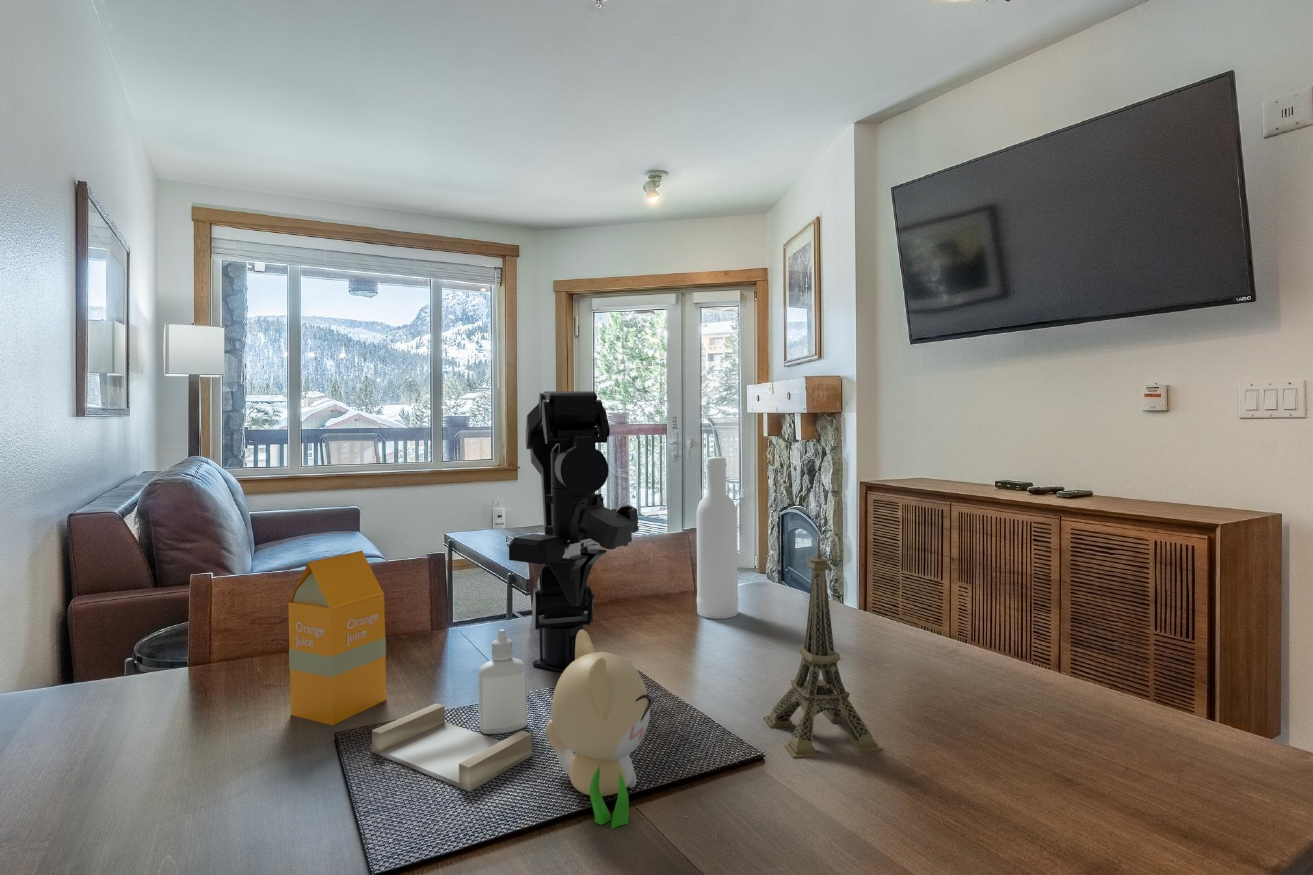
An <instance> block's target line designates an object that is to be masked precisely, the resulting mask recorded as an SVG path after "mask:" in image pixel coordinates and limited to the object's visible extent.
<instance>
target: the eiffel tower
mask: <svg viewBox="0 0 1313 875" xmlns="http://www.w3.org/2000/svg"><path fill="white" fill-rule="evenodd" d="M817 525H818V527H817V529H818V533H817V534H818V536H817V549H816V550H817V555H816V557H809V558H808V559H809V562H808V563H807V564H806V566H807V567H809V568H810V569H811V570H812V572H811V583H810V595H809V602H808V612H807V622H806V623H807V624H806V631H805V641H804V644H800V646H799V649H798V652H799V653H800V655H801V656H802V657H801V662H800V665H799V668H798V672H797V673H796V676H795V678H794V679H790V682H791V685H792V687H791V688H789V690H787V692H786V693H785V695H783V696H782V697H781V699H780V700H779V701H778V702H777V703H776V705H775V706H774V707H773V708H772V710H771V712H770V714H768V715H766V716H763V717H762V719H763V721H764V722H765V723H766V724H767V726H768V727H769V728H770V729H773V728H784V727H792V726H793V721H792V720H791V718H792V717H793V715H794V714H795V712H796V711H797V710H798V709H799V707H800V708H801V710H802V712H803V715H802V717H801V718H800V720H799V723H798V724H797V725H796V728H795V730H794V731H793V733H792V734H791V737H790V738H789V739H790V741H788V743H787V744H784V749H785V750H786V751H787V752H788V754H789V755H790V756H791V757H792V759H800V758H802V759H803V758H809V757H810V758H811V757H813V758H814V757H817V756H818V754H817V752H816V749H815V747H814V746H813V744H814V742H813V741H814V722H815V716H817V715H819V714H821V713H822V715H824V717H825V718H827V720H828V721H829V722H830V723H831V724H832V723H834V724H835V723H844V724H845V726H846V728H847V730H848V731H849V733H850V736H848V738H849V740H848V741H849V743H850V744H851V745H852V746H854V748H856V750H857V751H858V752H859V753H863V752H864V753H867V752H876V751H883V750H884V748H883V746H882V745H881V744H880V743H879V742H877V741H876V740H875V739H874V737H873V735H872V733H871V732H870V729H869V728H868V726H867V725H866V724H865V722H864V721H863V719H862V718H861V717H860V715H859V714H858V712H857V710H856V708H855V707H854V706H853V704H852V703H851V701H850V699H849V697H850V695H851V693H850V692H848V691H846V688H845V686H844V684H843V681H842V678H841V674H840V670H839V667H838V662H839V661H841V660H842V659H841V656H840V652H837V651H835V645H834V638H833V637H834V636H833V630H832V629H833V626H832V621H831V620H832V618H831V610H830V601H829V592H828V583H827V576H826V571H828V570H830V569H832V567H831V565H830V564H829V562H830V559H827V558H826V557H824V556H821V539H820V523H818V524H817ZM820 672H821V675H822V679H820Z"/></svg>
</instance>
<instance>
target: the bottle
mask: <svg viewBox="0 0 1313 875" xmlns="http://www.w3.org/2000/svg"><path fill="white" fill-rule="evenodd" d="M705 467H706V494H705V495H704V497H703V498H702V499H700V500H699V503H698V505H697V508H696V592H697V594H696V595H697V596H696V606H697V607H696V608H697V610H696V611H697V612H696V613H697V615H698V616H700V617H701V618H706V619H712V620H725V619H731V618H735V617H736V616H738V614H739V579H738V578H739V574H738V573H739V570H738V568H739V567H738V565H739V564H738V563H739V562H738V557H739V556H738V550H739V549H738V546H739V545H738V510H737V507H736V504H735V502H734V500H732V498H731V497H730V496H729V495H728V494H727V460H726V457H724V456H710V457H707V458H706V464H705Z"/></svg>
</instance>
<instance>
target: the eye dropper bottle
mask: <svg viewBox="0 0 1313 875" xmlns="http://www.w3.org/2000/svg"><path fill="white" fill-rule="evenodd" d="M527 685H528V684H527V667H526V665H525V662H523V660H521V659H520V658H515V657H513V640H512V639H510V638H508V637H507V634H506V629H503V628H502V629H498V632H497V638H496V639H494V640H493V641H491V660H488V661H487V662H485V663H483V664H482V665H481V666H480V667H479V668H478V717H479V718H478V719H479V720H478V722H479V729H480V732H481V733H482V734H483V735H500V734H507V733H512V732H515V731H519V730H522V729H524V728H525V727H526V726H527V725H528V696H527V694H528V692H527Z"/></svg>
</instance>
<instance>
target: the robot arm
mask: <svg viewBox="0 0 1313 875" xmlns="http://www.w3.org/2000/svg"><path fill="white" fill-rule="evenodd" d="M610 433H611V429H610V423H609V419H608V414H607V409H606V408H605V407H604V405H603V400H601V399H598V395H597V393H596V392H595V391H591V390H589V391H587V390H585V391H577V390H576V391H574V390H573V391H565V390H563V391H562V390H561V391H560V390H558V391H556V390H555V391H550V390H548V391H547V390H546V391H543V392H540V393H539V396H538V403H537V405H535V407H533V408H532V410H531V411H530V412H528V413H527V416H526V423H525V448H526V450H529V453H530V454H529V455H530V463H531V465H533V467H534V468H535V469H536V471H537V472H538V473H539V475H540V476H541V493H542V511H543V513H542V514H543V528H544V534H542V533H541V534H539V533H529V534H525V535H519V536H515V537H513V538H512V539H511V541H510V542H509V543H508V560H509V561H513V562H519V563H520V562H521V563H528V564H536V565H543V567H542V569H541V571H540V573H539V576H538V578H537V584H536V585H537V586H536V587H537V588H533V595H532V596H533V597H532V606H531V610H532V613H531V614H532V624H533V627H534V630H539V633H538V634H539V658H538V659H536V660H534V661H532V666H535V667H539V668H543V669H548V670H551V671H555V672H558V673H563V672H564V670H565V669H566V668H567V667H568V666H569V665H570V664H571V663H572V662H573V661H575V644H576V636H577V633H578V632H579V631H580V630H584V626H591V623H592V622H593V621H594V620H593V619H594V616H593V615H594V612H593V610H594V603H595V593H593V592H592V589H591V585H590V584H587V582H588V579H589V576H590V573H591V571H592V568H593V565H594V564H595V563H596V561H598V560H599V559H600V558H601V557H602V556H604V555H606V554H607V552H608V550H611V551H612V550H615V549H617V548H618V547H622V546H624V547H627V546H629V543H631V542H632V541H633V539H632V538H633V537H632V536H633V535H632V534H634V533H637V532H638V531H639V530H640V529H639V515H638V509H637V508H636V507H634V506H632V505H630V504H628V505H622V506H620V507H619V508H618V509H616V508H611V509H610V508H608V507H606V506H605V503H604V501H605V500H604V497H603V496H602V495H603V494H602V493H596V492H597V491H599V490H600V489H601V488H603V486H604V485H605V483H606V482H607V480H608V477H609V471H610V470H609V469H610V468H609V464H608V461H607V459H606V457H605V456H604V454H603V453H602V452H601V451H600V450H599V449H597V448H596V444H605V443H606V444H607V443H608V438H609V437H610ZM600 547H602V548H603V549H602V548H600Z"/></svg>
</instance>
